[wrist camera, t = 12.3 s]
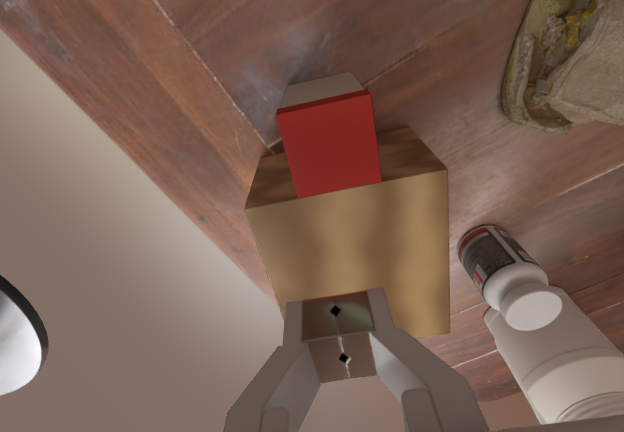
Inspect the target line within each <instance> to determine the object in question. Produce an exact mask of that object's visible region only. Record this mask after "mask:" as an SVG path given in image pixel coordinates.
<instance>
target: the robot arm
mask: <svg viewBox="0 0 624 432" xmlns="http://www.w3.org/2000/svg"><path fill="white" fill-rule="evenodd" d="M283 335H284V336H283V346H278V347H277V348H276V350H275V351H274V352H273V354H272V355H271V356H270V358H269V359H268V360H267V362H266V363H265V364H264V366H263V367H262V368H261V370H260V371H259V372H258V373H257V375H256V376H255V377H254V379H253V380H252V381H251V382H250V384H249V385H248V386H247V388H246V389H245V390H244V392H243V393H242V395H241V396H240V397H239V399H238V400H237V401H236V402H235V404H234V405H233V406H232V407H231V409H230V410H229V411H228V413H227V417H226V422H225V427H224V432H298V431H299V428H300V426H301V424H302V422H303V420H304V418H305V416H306V414H307V412H308V410H309V408H310V406H311V404H312V402H313V400H314V398H315V396H316V394H317V391H318V389H319V387H320V383H325V382H331V381H337V380H343V379H348V378H357V377H366V376H374V375H378V377H379V378H380V380H381V381H382V382H383V383H384V384H385V385H386V387H387V388H388V389H389V390H390V391H391V392H392V393H393V395H394V396H395V397H396V398H397V399H398V400H399V401H400V403H401V404H402V408H403V415H404V423H405V430H406V432H624V414H622V415H614V416H606V417H598V418H590V419H582V420H574V421H566V422H558V423H550V424H542V425H534V426H526V427H518V428H510V429H502V430H494V431H490V430H489V428H488V426H487V424H486V421H485V419H484V417H483V415H482V412H481V410H480V408H479V405H478V403H477V401H476V399H475V396H474V394H473V392H472V390H471V387H470V385H469V383H468V380H466V379H465V378H464V377H462V376H461V375H460V374H459V373H457V372H456V371H455V370H454V369H452V368H451V367H450V366H449V365H447V364H446V363H445V362H443V361H442V360H441V359H440V358H438V357H437V356H436V355H435V354H433V353H432V352H431V351H430V350H428V349H427V348H426V347H424V346H423V345H422V344H421V343H419V342H418V341H417V340H416V339H414V338H413V337H412V336H411V335H409V334H408V333H407V332H405V331H404V330H403V329H402V328H395V325H394V322H393V318H392V315H391V311H390V308H389V304H388V301H387V297H386V294H385V290H384V288H383V287H377V288H372V289H366V290H361V291H356V292H350V293H344V294H339V295H334V296H327V297H319V298H312V299H305V300H301V301H294V302H287V304H286V307H285V321H284V334H283Z"/></svg>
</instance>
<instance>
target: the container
mask: <svg viewBox="0 0 624 432" xmlns="http://www.w3.org/2000/svg"><path fill="white" fill-rule="evenodd" d="M276 118H277V122H278V126H279V130H280V134H281V137H282V141H283V145H284V149H285V152H286V156H287V160H288V164H289V168H290V171H291V175H292V179H293V183H294V187H295V190H296V194H297V197H298V198H301V197H306V196H311V195H316V194H321V193H326V192H331V191H336V190H341V189H346V188H351V187H356V186H361V185H366V184H372V183H377V182H381V181H382V178H381V170H380V161H379V153H378V145H377V137H376V129H375V120H374V112H373V104H372V96H371V93H370V92H369V91H368V89H364V88H363V87H362V86H361V84H360V83H359V82H358V80H357V79H356V78H355V77H354V75H353V74H352V73H351V72H346V73H342V74H338V75H333V76H329V77H325V78H320V79H316V80H312V81H307V82H303V83H298V84H294V85H290V86H286V89H285V93H284V96H283V100H282V103H281V107H280V108H279V109H277V113H276Z"/></svg>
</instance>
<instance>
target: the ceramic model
mask: <svg viewBox="0 0 624 432" xmlns="http://www.w3.org/2000/svg"><path fill="white" fill-rule="evenodd" d="M502 103H503V108H504V111H505V114H506V115H507V116H508V118H509V119H510V120H511V121H512V122H514V123H516V124H518V125H522V126H525V125H527V126H532V127H534V128H537V129H540V130H543V131H545V132H548V133H551V134H554V133H565V134H566V133H567V132H569V131H570V130H571V129H572V128H574V127H576V126H580V125H581V124H582V123H589V122H592V121H594V120H600V121H604V122H609V123H615V125H616V126H622V125H624V0H531V1H530V3H529V6H528V8H527V11H526V13H525V16H524V19H523V21H522V24H521V27H520V29H519V32H518V34H517V37H516V40H515V43H514V46H513V49H512V52H511V55H510V59H509V62H508V65H507V69H506V73H505V78H504V82H503V87H502Z"/></svg>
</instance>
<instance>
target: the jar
mask: <svg viewBox="0 0 624 432" xmlns="http://www.w3.org/2000/svg"><path fill="white" fill-rule="evenodd" d="M549 286H550V285H549ZM550 287H551V288H552V289H553V290H554V291H555V292H556V293H557V294H558V296H559V297H560V299H561V301H562V309H561V312H560V313H559V315H558V316H557V317H556V318H555V319H554V320H553V321H552V322H551V323H549V324H548V325H546V326H544V327H541V328H538V329H535V330H529V331H522V330H517V329H514V328H512V327H511V326H510V325H509V324H508V323H507V322H506V320H505V319H504V318H503V316H502V315H501V313H500V311H498V310H496V309H494V308H492V307H490V308H489V310H488V311H487V312H486V314H485V316H484V318H483V319H484V321H485V323H486V325H487V327H488V328H489V330H490V331H491V332H492V334H493V336H494V337H495V345H496V347H497V349H498V351H499V352H500V354H501V355H502V356H503V358H504V360H505V362H506V363H507V365H508V367H509V369H510V370H511V372H512V374H513V375H514V377H515V379H516V381H517V382H518V384H519V386H520V388H521V389H522V391H523V393H524V394H525V396H526V398H527V400H528V401H529V403H530V405H531V406H532V408H533V411H534V413H535V415H536V417H537V418H538V420H539V422H540V423H541V425H542V424H550V423H558V422H566V421H574V420H582V419H590V418H598V417H606V416H614V415H622V414H624V354H623V353H622V352H621V351H619V350H618V349H617V348H616V347H615V346H614V345H613V344H612V343H611V342H610V341H609V340H608V338H607V337H606V336H605V335H604V334H603V333H602V332H601V331H600V330H599V329H598V328H597V327H596V326H595V325H594V323H593V322H592V321H591V320H590V319H589V318H588V317H587V316H586V315H585V314H584V313H583V312H582V311H581V310H580V308H579V307H578V306H577V305H576V304H575V303H574V302H573V301H572V300H571V299H570V298H569V296H568V294H567V293H566V292H565V291H564V290H563V289H562V288H559V287H555V286H550Z"/></svg>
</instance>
